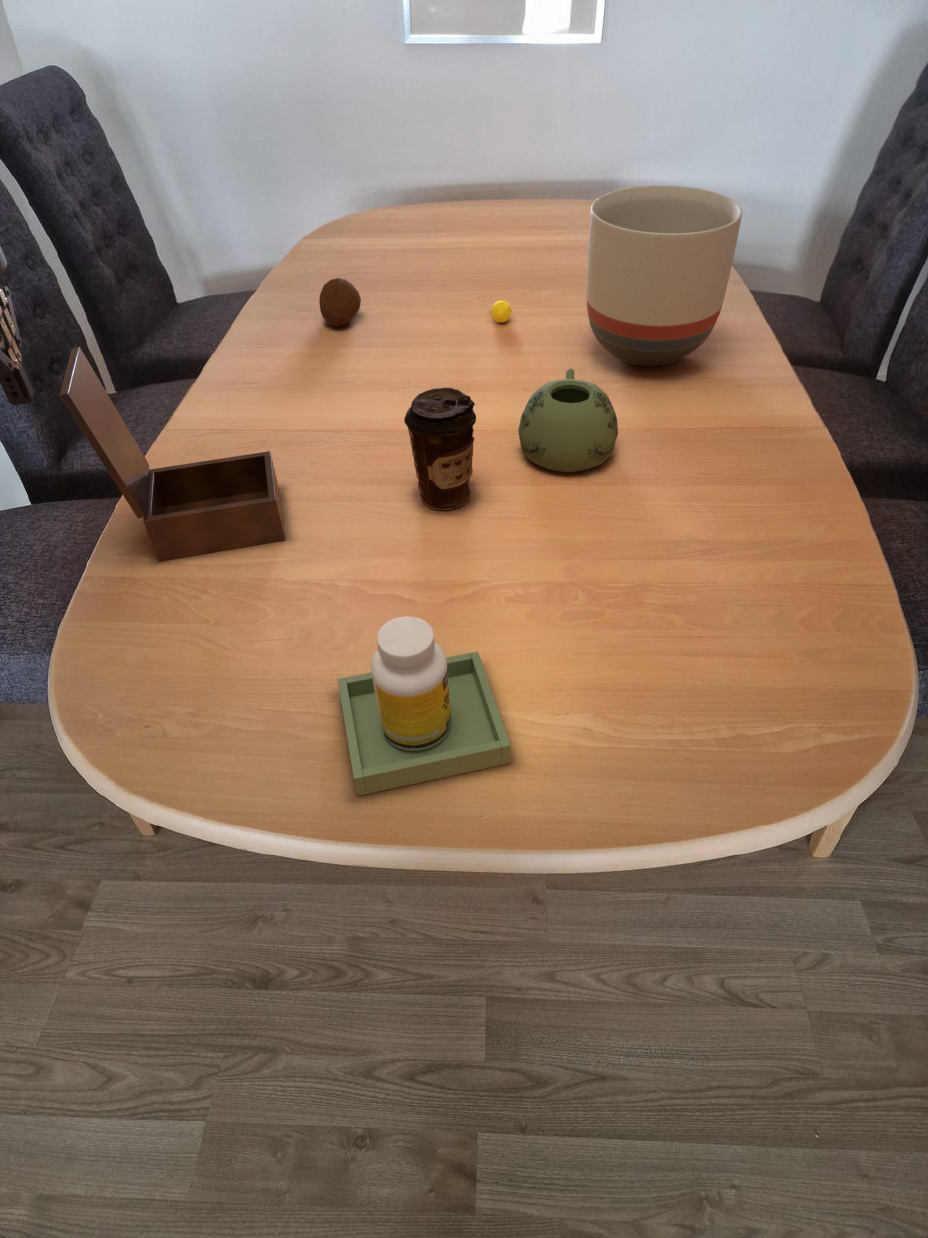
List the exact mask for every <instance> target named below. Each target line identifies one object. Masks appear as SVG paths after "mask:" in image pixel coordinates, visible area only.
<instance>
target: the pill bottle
mask: <svg viewBox="0 0 928 1238" xmlns="http://www.w3.org/2000/svg"><path fill="white" fill-rule="evenodd" d="M376 643H377V650H376V652H375V653H374V654H373V657H372V660H371V664H370V672H371V674H372V679H373V684H374V690H375V695H376V701H377V707H378V712H379V719H380V725H381V729H382V732H383V734H384V736H385V738H386V739H387V740H388V741H389V742H390V743H391V744H393V745H394V746H396V747H398V748H401V749H404V750H410V751H417V750H424V749H427V748H430V747H432V746H434V745H436V744H437V743H439V742H440V741H441V740H442V739H443V738H444V737H445V736H446V734H447V732H448V731H449V728H450V724H451V710H450V697H449V684H448V669H447V660H446V658H447V656H446V653H445V652H444V650H443V648H442V647H441V646H440V645H439V644H438V643H437V642H436V641H435V633H434V630H433V628H432V626H431V625H430V623H428V622H427V620H424V619H422V618H420V617H417V616H409V615H408V616H407V615H406V616H399V617H398V616H397V617H395V618H392V619H390V620H388V621H387V622H385V623H384V624H383V625H382V626H381V627H380V628H379V630H378V632H377V635H376Z"/></svg>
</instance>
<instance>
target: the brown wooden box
mask: <svg viewBox="0 0 928 1238" xmlns="http://www.w3.org/2000/svg"><path fill="white" fill-rule="evenodd" d="M282 507H283V506H282V500H281V491H280V487H279V482H278V478H277V473H276V469H275V464H274V461H273V456H272V452H271V450H268V451H263V452H262V451H260V452H256V453H255V452H254V453H249V454H242V455H235V456H229V457H222V458H215V459H208V460H203V461H197V462H196V461H195V462H190V463H183V464H177V465H171V466H163V467H158V468H149V475H148V487H147V499H146V511H145V517H142V519H143V521H142V522H143V524H144V527H145V530H146V532H147V535H148V537H149V540H150V543H151V545H152V548H153V551H154V553H155V556H156V559H157V561H158V562H163V561H170V560H176V559H181V558H187V557H192V556H199V555H205V554H210V553H216V552H222V551H223V552H224V551H228V550H235V549H240V548H246V547H253V546H258V545H265V544H270V543H274V542H275V543H276V542H281V541H282V542H283V541H286V532H285V524H284V517H283V508H282Z"/></svg>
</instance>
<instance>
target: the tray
mask: <svg viewBox="0 0 928 1238" xmlns="http://www.w3.org/2000/svg"><path fill="white" fill-rule="evenodd" d="M446 660H447V669H448V684H449V697H450V710H451V724H450V728H449V731H448V732H447V734H446V736H445V737H444V738H443V739H442V740H441V741H440V742H439V743H437V744H436V745H434V746H432V747H430V748H427V749H424V750H417V751H410V750H404V749H401V748H398V747H396V746H394V745H393V744H391V743H390V742H389V741H388V740H387V739H386V738H385V736H384V734H383V732H382V729H381V725H380V719H379V712H378V707H377V701H376V695H375V690H374V684H373V679H372V674H371V671H370V672H365V673H360V674H356V675H350V676H344V677H338V678H337V680H336V681H337V687H338V692H339V697H340V704H341V709H342V716H343V722H344V728H345V729H344V730H345V735H346V741H347V745H348V753H349V758H350V765H351V770H352V777H353V783H354V787H355V790H356V795H357V797H360V796H365V795H370V794H374V793H379V792H383V791H388V790H392V789H397V788H402V787H406V786H411V785H415V784H421V783H423V782H424V783H426V782H430V781H434V780H439V779H443V778H447V777H452V776H453V777H454V776H458V775H461V774H467V773H472V772H475V771H480V770H485V769H489V768H494V767H499V766H503V765H507V764H511V751H512V749H511V748H512V747H511V746H512V745H511V741H510V740H509V737H508V733H507V730H506V728H505V725H504V722H503V719H502V717H501V714H500V710H499V707H498V705H497V702H496V699H495V696H494V693H493V690H492V688H491V684H490V681H489V679H488V676H487V672H486V670H485V667H484V664H483V661H482V658H481V656H480V652H479V651H473V652H468V653H463V654H458V655H453V656H448V657H447V656H446Z"/></svg>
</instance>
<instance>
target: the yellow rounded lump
mask: <svg viewBox="0 0 928 1238" xmlns="http://www.w3.org/2000/svg"><path fill="white" fill-rule="evenodd" d="M512 312H513V310H512V307H511V304H510V303H509V302H507V301H506V300H497V301H495V302H494V303H493V304H492V305H491V308H490V314H491V317H492V319H493V320H494V321H495V322H497V323H505V322H507V321H509V319H511V315H512Z"/></svg>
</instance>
